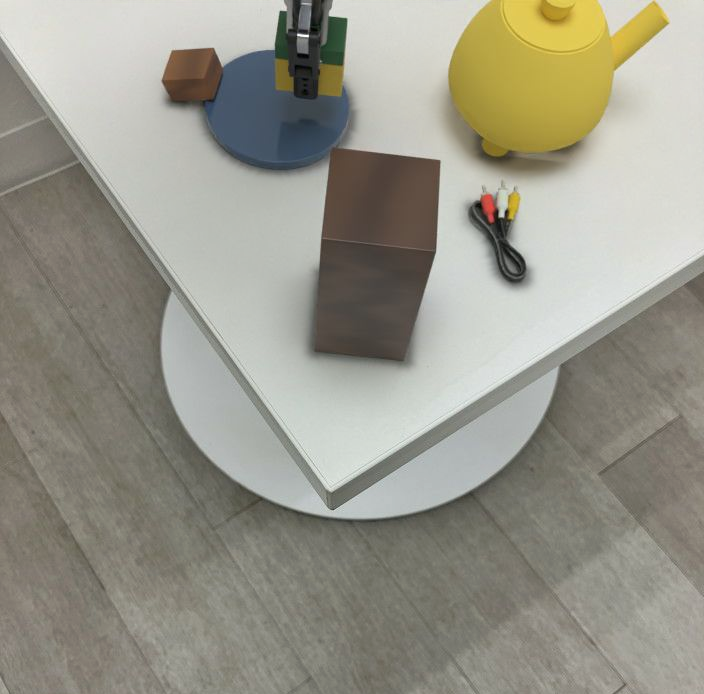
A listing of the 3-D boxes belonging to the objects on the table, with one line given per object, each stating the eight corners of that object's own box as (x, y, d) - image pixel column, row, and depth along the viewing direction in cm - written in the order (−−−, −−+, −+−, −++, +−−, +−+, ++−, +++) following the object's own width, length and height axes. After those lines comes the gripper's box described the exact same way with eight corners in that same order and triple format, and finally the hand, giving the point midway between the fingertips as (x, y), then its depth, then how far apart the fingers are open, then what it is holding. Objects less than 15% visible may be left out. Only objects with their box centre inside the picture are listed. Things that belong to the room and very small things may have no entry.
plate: (196, 160, 75) (194, 152, 75) (216, 49, 80) (215, 41, 79) (342, 177, 76) (343, 170, 75) (353, 66, 81) (354, 58, 80)
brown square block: (171, 101, 78) (160, 80, 75) (181, 71, 79) (171, 49, 77) (213, 99, 76) (203, 78, 74) (223, 69, 78) (214, 47, 76)
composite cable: (528, 283, 74) (536, 267, 71) (478, 284, 73) (484, 268, 71) (513, 195, 77) (520, 178, 75) (464, 196, 76) (470, 178, 74)
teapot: (602, 43, 85) (658, -85, 72) (654, 159, 80) (724, 43, 67) (423, 65, 82) (448, -65, 69) (465, 187, 77) (502, 72, 64)
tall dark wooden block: (313, 351, 69) (320, 238, 54) (321, 273, 72) (331, 146, 57) (404, 361, 70) (436, 251, 55) (409, 283, 73) (440, 159, 58)
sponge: (275, 90, 73) (274, 44, 68) (280, 57, 74) (279, 9, 70) (341, 97, 73) (344, 52, 68) (344, 64, 74) (347, 17, 70)
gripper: (271, -185, 60) (276, 15, 76) (249, -50, 55) (258, 133, 71) (370, -172, 60) (354, 24, 76) (357, -37, 55) (342, 142, 71)
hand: (308, 76), depth 74 cm, fingers closed on sponge, 4 cm apart
